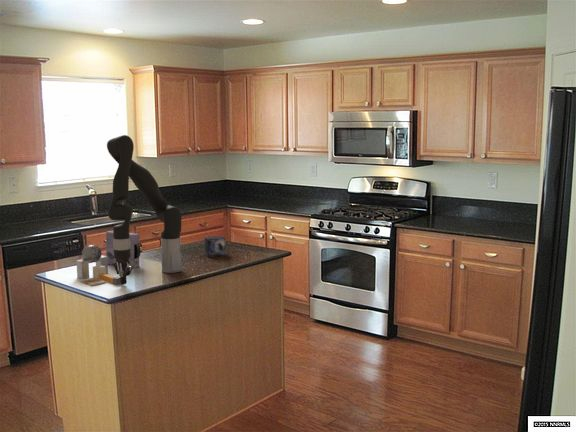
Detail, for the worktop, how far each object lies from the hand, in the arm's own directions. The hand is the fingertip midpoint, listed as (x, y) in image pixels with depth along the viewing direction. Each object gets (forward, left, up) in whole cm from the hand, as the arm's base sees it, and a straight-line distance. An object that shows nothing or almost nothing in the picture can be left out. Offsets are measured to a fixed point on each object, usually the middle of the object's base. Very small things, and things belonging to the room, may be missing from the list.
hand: (123, 284), depth 273 cm
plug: (+13, 0, -1) cm, 13 cm away
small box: (+12, -68, -1) cm, 69 cm away
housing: (+26, 0, -1) cm, 26 cm away
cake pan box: (+31, -21, -1) cm, 38 cm away
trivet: (+15, +7, -1) cm, 16 cm away
